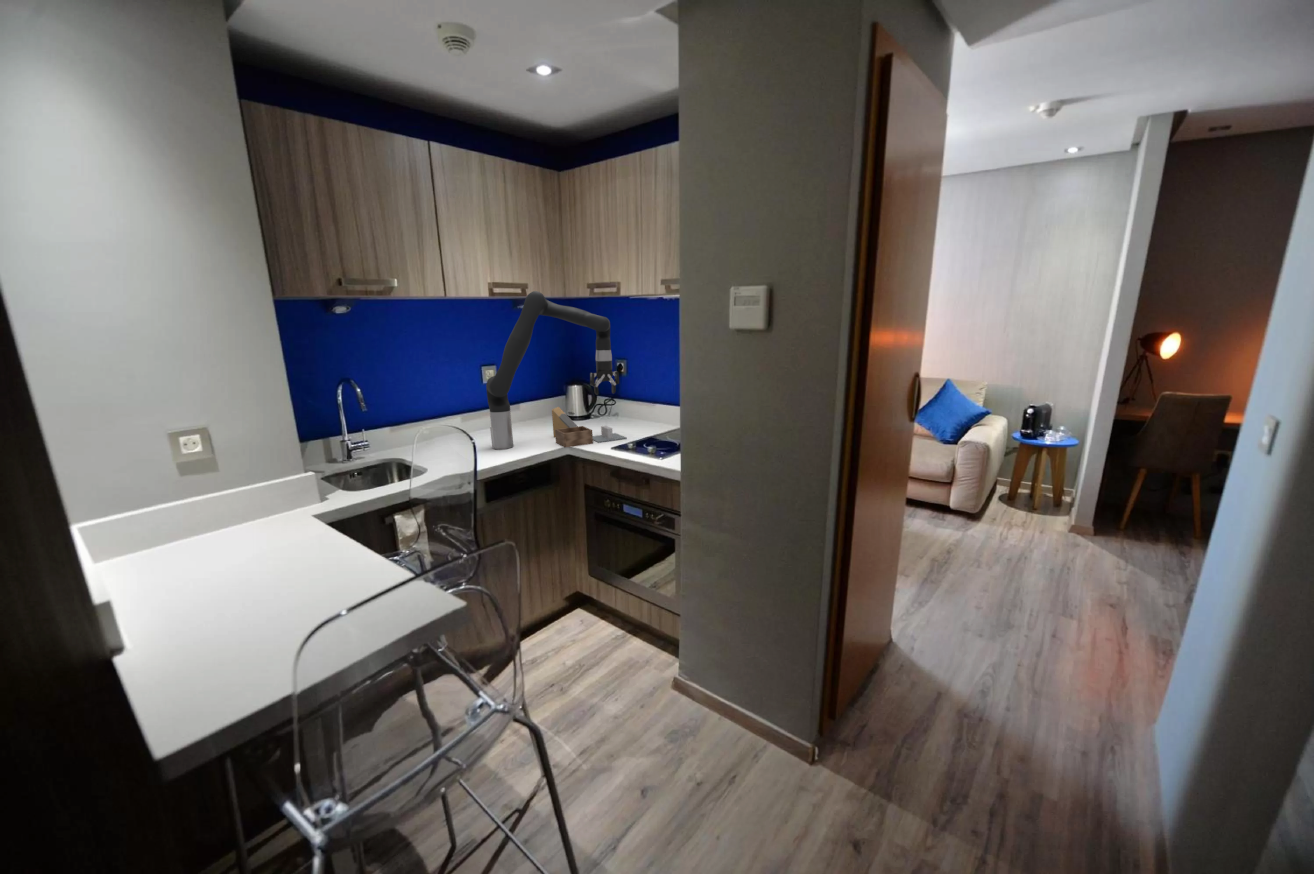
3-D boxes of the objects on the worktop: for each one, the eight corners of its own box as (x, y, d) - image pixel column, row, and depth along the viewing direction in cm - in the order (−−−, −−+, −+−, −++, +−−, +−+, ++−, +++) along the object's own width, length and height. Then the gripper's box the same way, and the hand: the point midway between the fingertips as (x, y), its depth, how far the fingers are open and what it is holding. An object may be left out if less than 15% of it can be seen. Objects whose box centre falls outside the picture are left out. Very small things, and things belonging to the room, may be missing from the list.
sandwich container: (582, 439, 259) (580, 409, 255) (553, 438, 262) (551, 409, 259) (588, 435, 267) (586, 406, 264) (560, 435, 270) (558, 406, 267)
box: (564, 448, 240) (563, 433, 239) (556, 443, 250) (555, 429, 249) (593, 444, 247) (592, 430, 245) (583, 439, 257) (582, 426, 255)
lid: (598, 444, 247) (597, 431, 246) (587, 439, 259) (587, 426, 257) (626, 440, 254) (626, 427, 253) (615, 436, 266) (615, 423, 264)
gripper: (592, 361, 242) (594, 396, 245) (620, 359, 248) (622, 393, 252) (586, 360, 248) (588, 394, 251) (614, 358, 255) (615, 391, 258)
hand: (605, 393), depth 252 cm, fingers open, 8 cm apart
